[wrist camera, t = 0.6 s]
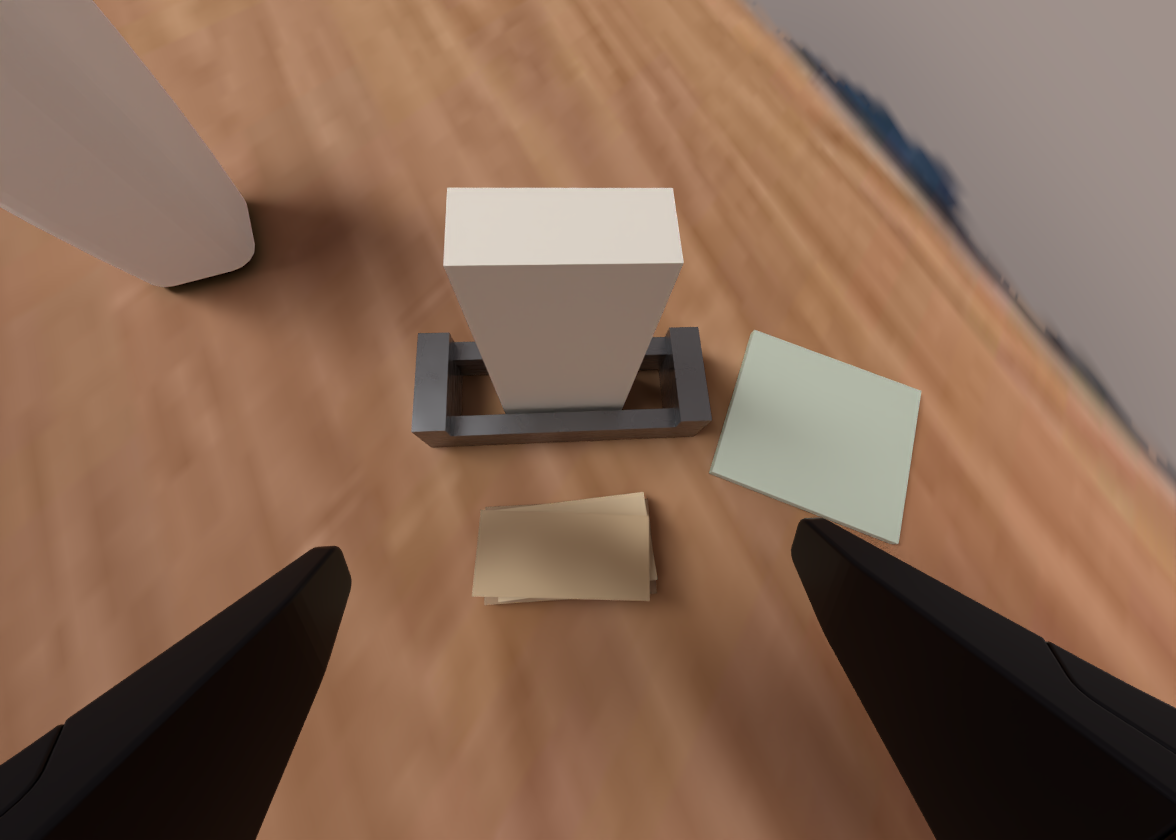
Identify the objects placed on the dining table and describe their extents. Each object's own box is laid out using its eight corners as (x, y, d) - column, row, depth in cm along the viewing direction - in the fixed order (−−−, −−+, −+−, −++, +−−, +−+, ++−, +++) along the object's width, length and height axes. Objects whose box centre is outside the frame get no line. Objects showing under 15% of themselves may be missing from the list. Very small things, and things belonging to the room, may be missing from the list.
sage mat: (891, 544, 22) (898, 543, 21) (708, 473, 22) (712, 471, 22) (914, 394, 25) (921, 390, 24) (750, 333, 25) (754, 329, 25)
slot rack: (693, 436, 23) (712, 420, 20) (431, 447, 22) (411, 431, 19) (682, 352, 25) (698, 327, 22) (435, 359, 24) (418, 333, 21)
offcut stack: (653, 594, 21) (665, 600, 18) (481, 605, 20) (471, 613, 18) (644, 495, 22) (653, 489, 20) (483, 504, 21) (473, 498, 19)
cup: (281, 278, 24) (-106, -96, 10) (143, 314, 23) (-504, -51, 9) (261, 183, 26) (-91, -245, 12) (132, 212, 25) (-421, -222, 11)
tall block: (618, 416, 23) (683, 262, 11) (508, 420, 23) (443, 265, 10) (615, 375, 24) (672, 188, 11) (508, 379, 23) (447, 187, 11)
